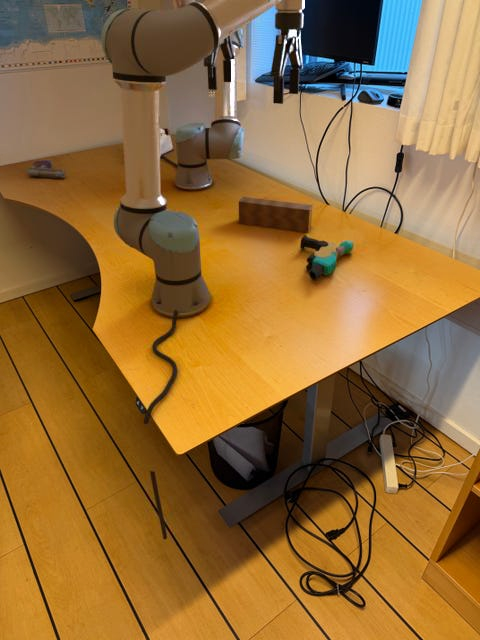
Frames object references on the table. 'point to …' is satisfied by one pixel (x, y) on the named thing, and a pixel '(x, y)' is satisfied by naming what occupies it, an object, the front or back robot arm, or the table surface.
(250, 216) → the bar
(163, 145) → the sneaker
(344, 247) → the toy gun
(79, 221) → the table surface
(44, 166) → the toy gun
